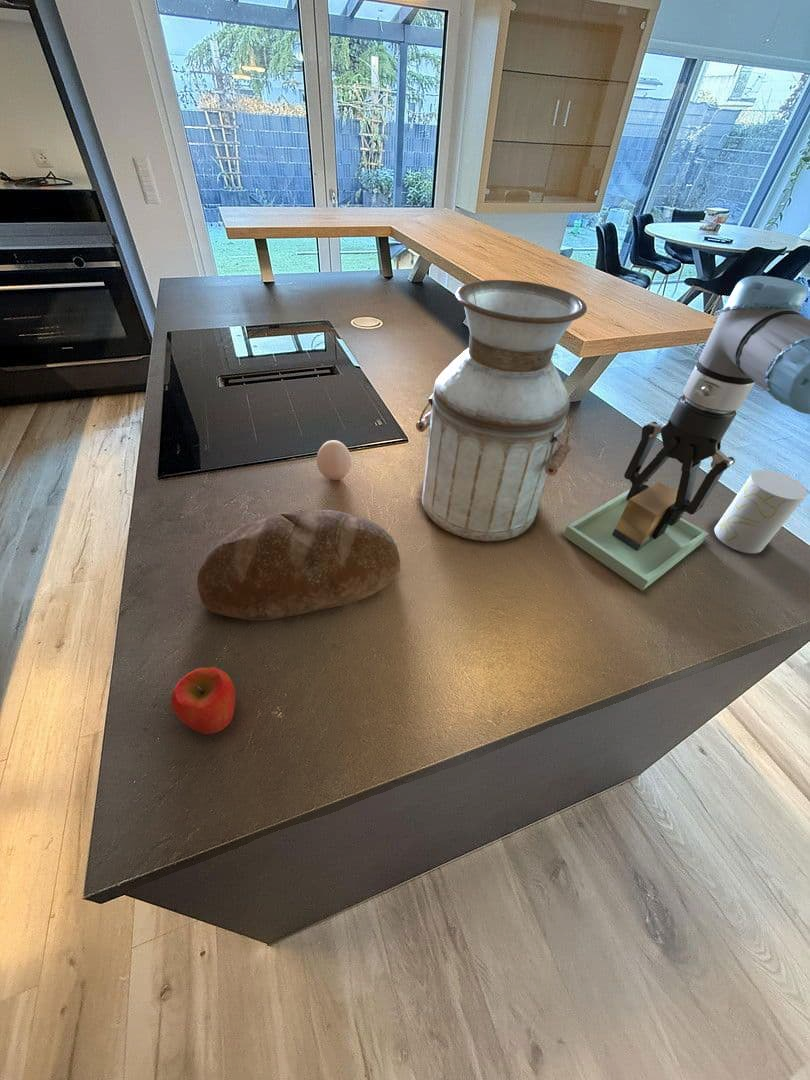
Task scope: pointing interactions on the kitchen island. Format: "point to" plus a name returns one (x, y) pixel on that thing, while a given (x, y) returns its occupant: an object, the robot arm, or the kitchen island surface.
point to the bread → (297, 565)
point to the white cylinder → (759, 510)
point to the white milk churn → (499, 411)
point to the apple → (205, 700)
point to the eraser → (644, 515)
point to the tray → (622, 558)
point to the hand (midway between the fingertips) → (642, 525)
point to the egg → (334, 460)
